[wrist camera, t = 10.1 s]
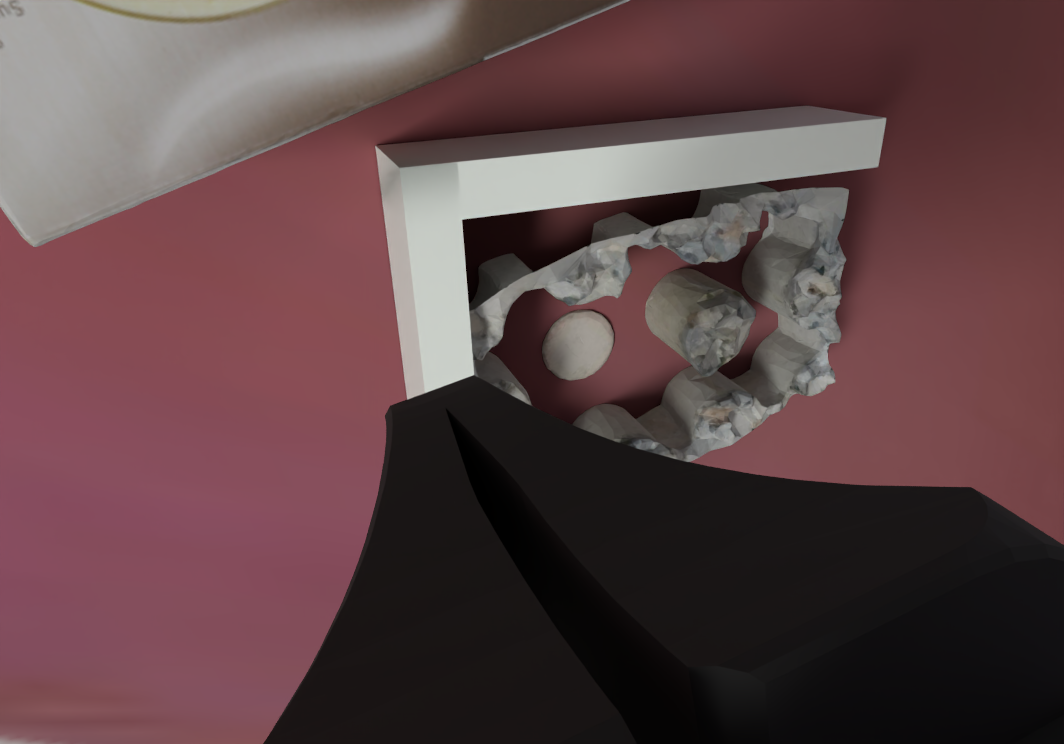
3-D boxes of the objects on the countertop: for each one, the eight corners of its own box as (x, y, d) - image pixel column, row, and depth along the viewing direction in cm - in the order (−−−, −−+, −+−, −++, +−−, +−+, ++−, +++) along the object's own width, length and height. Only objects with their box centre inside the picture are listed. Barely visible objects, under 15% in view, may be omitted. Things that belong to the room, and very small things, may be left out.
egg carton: (483, 477, 23) (527, 562, 19) (424, 249, 19) (465, 303, 16) (779, 371, 25) (865, 429, 22) (777, 149, 22) (880, 176, 18)
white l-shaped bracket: (807, 105, 21) (886, 117, 18) (748, 579, 29) (798, 634, 26) (375, 145, 17) (399, 167, 15) (441, 674, 25) (465, 747, 23)
